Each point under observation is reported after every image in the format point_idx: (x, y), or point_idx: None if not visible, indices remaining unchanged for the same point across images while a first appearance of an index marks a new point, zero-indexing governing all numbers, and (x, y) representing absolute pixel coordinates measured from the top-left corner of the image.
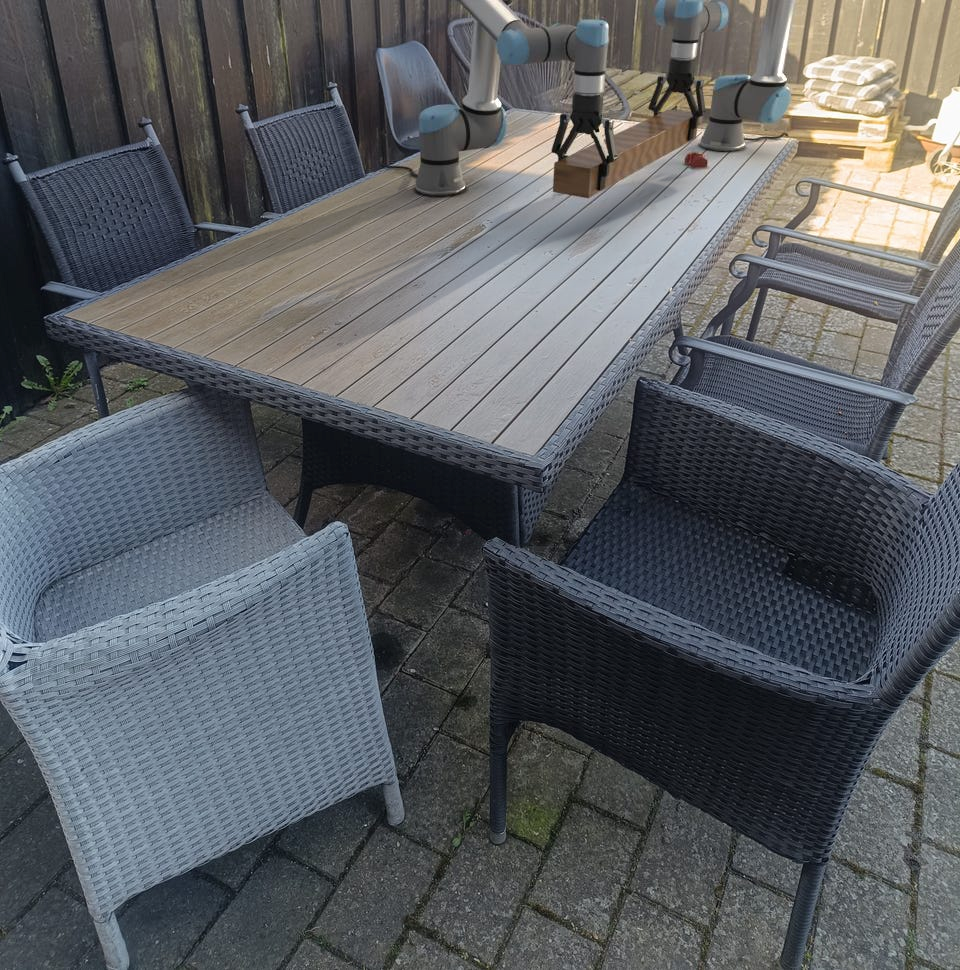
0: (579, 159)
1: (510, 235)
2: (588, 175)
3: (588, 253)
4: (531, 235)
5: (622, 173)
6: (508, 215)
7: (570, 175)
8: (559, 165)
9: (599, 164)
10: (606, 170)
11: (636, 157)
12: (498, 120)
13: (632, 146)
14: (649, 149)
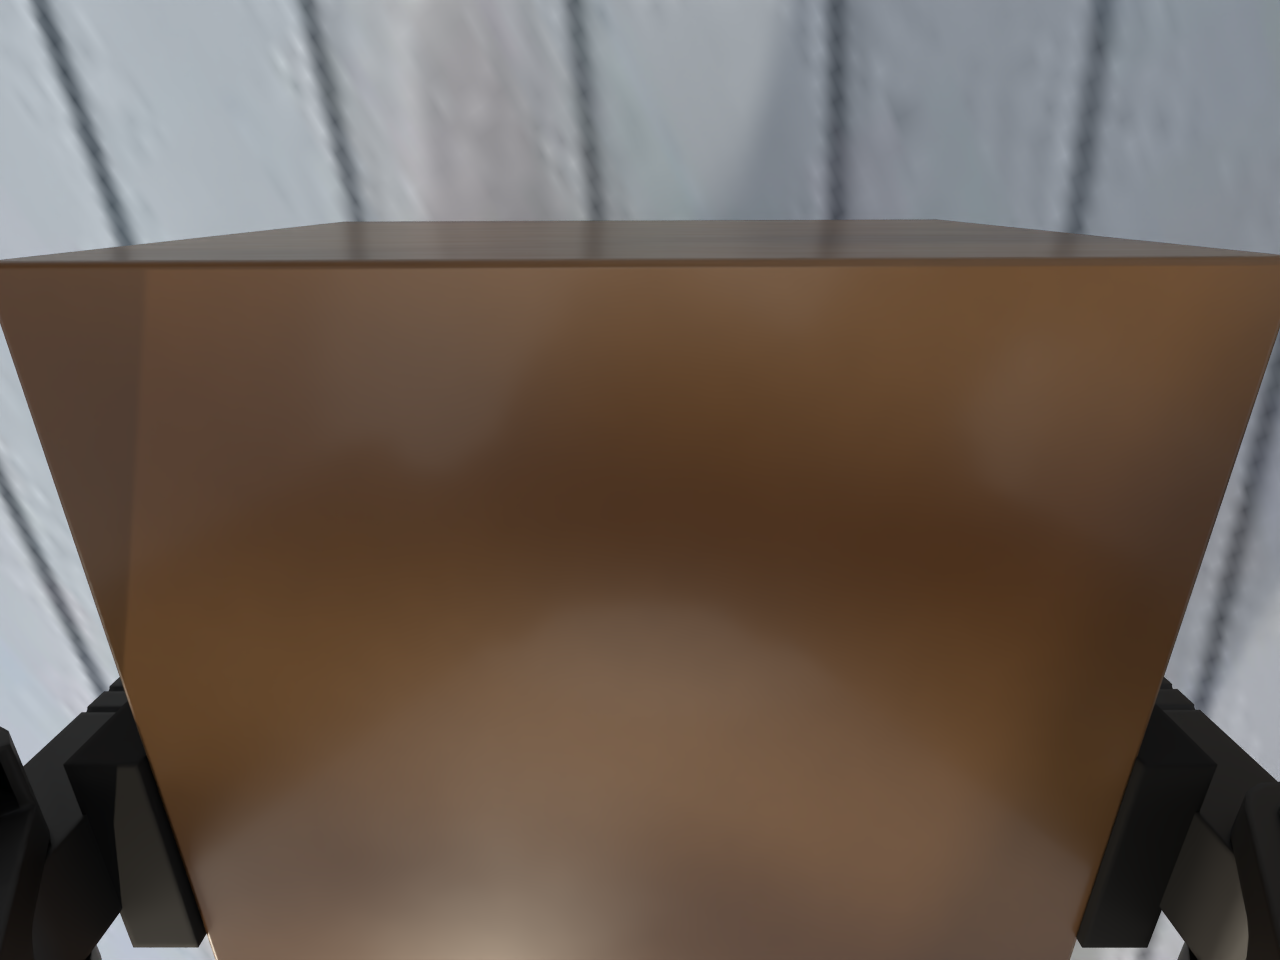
0: (746, 847)
1: (1132, 92)
2: (169, 243)
3: (373, 65)
4: (965, 196)
5: None
6: (1275, 500)
7: (669, 237)
8: (1071, 252)
9: (145, 752)
10: (90, 716)
11: None
12: None
13: None
14: None
